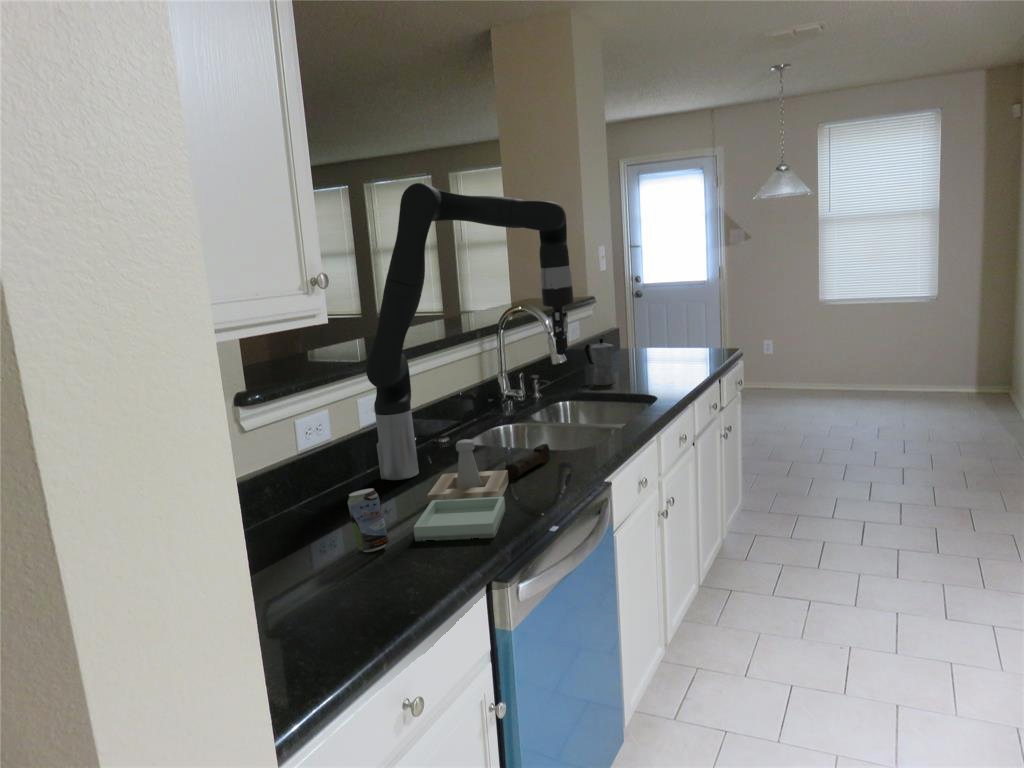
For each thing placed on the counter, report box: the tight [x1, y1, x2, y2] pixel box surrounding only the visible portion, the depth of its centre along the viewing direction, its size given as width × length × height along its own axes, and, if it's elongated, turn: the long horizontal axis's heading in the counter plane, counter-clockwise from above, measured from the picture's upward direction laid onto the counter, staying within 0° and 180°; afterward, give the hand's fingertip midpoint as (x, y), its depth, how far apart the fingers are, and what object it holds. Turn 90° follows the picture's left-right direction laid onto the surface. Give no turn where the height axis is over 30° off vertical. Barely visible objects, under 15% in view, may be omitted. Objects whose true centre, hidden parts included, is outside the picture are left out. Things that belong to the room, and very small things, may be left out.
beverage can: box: [347, 487, 389, 553], centre depth 149 cm, size 6×7×12 cm
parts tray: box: [413, 496, 506, 542], centre depth 158 cm, size 16×16×3 cm
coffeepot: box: [584, 337, 617, 386], centre depth 301 cm, size 15×9×18 cm, turn 44°
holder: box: [427, 469, 509, 505], centre depth 178 cm, size 16×16×3 cm
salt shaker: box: [455, 438, 482, 489], centre depth 177 cm, size 6×6×13 cm
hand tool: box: [504, 443, 551, 480], centre depth 194 cm, size 19×4×5 cm, turn 145°
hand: (562, 351), depth 189 cm, fingers open, 8 cm apart
